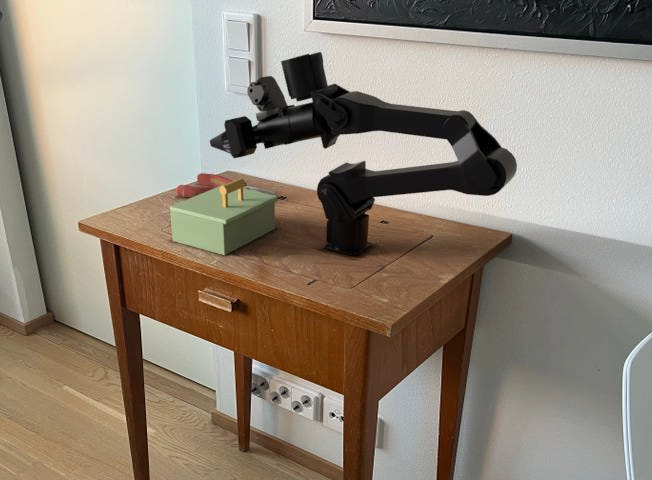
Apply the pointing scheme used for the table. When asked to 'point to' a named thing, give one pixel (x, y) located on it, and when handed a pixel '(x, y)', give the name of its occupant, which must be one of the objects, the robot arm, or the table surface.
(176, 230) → the box
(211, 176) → the pliers
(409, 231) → the table surface
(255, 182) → the table surface
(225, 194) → the lid
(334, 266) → the table surface
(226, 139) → the robot arm
